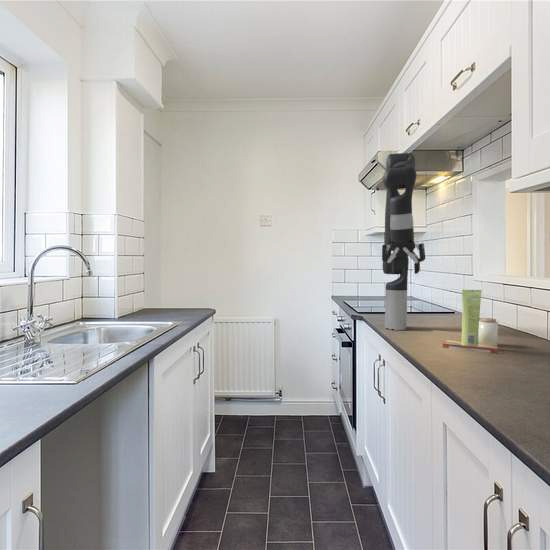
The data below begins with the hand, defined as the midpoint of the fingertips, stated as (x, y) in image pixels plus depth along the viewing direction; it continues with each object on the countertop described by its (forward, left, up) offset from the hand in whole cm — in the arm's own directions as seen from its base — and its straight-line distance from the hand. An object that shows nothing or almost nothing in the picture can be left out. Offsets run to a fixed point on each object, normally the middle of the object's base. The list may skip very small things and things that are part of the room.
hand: (403, 273), depth 135 cm
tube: (-4, +21, -25) cm, 33 cm away
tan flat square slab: (-7, +21, -26) cm, 34 cm away
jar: (-12, +26, -25) cm, 38 cm away
